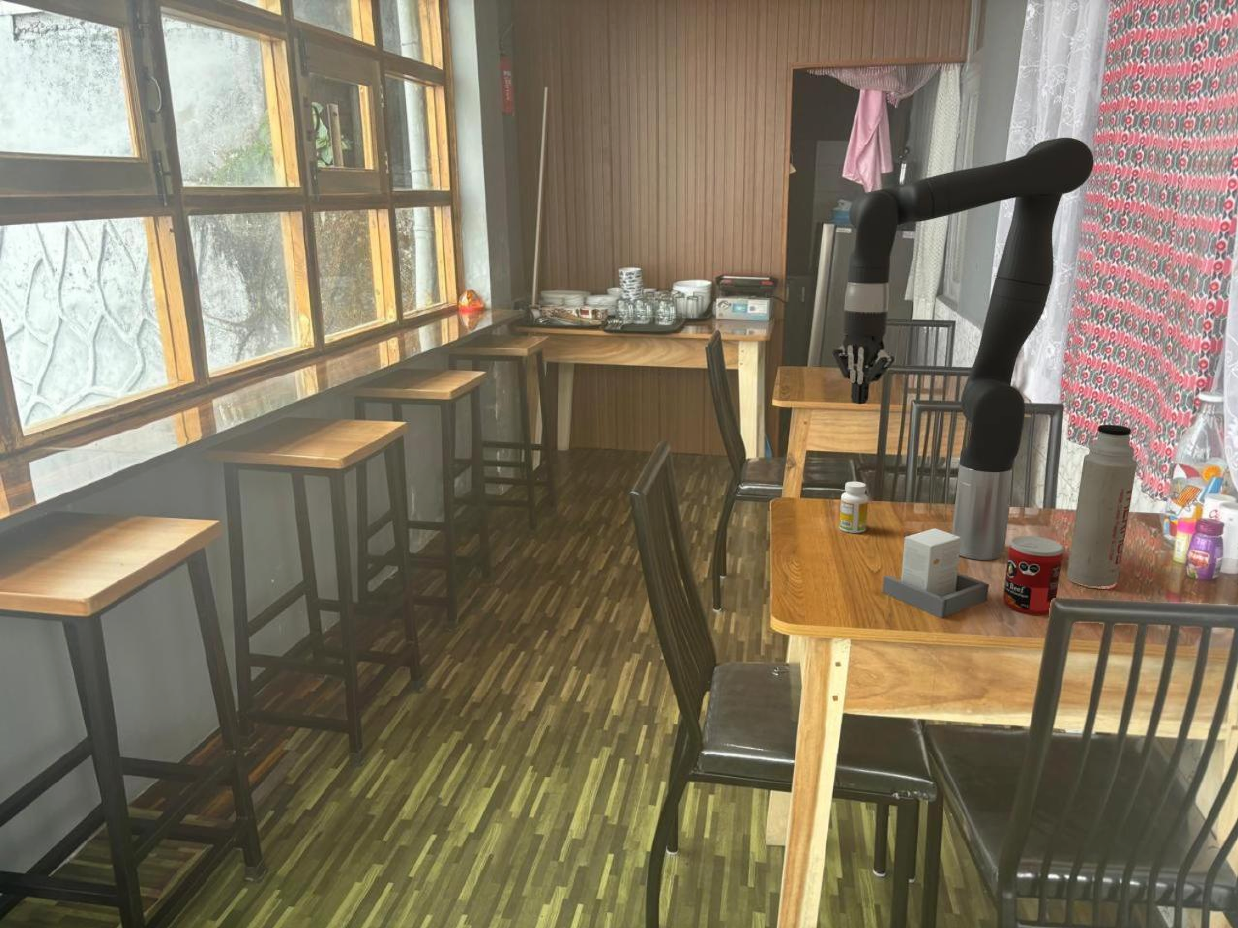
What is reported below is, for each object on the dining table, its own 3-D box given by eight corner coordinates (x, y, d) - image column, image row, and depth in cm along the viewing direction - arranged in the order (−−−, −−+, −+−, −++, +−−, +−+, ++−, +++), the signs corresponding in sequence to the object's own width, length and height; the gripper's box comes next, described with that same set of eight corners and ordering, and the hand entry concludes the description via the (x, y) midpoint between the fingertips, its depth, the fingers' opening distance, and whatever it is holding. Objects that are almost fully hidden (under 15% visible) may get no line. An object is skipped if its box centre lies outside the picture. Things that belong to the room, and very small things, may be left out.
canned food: (993, 597, 153) (1001, 536, 150) (1039, 595, 153) (1047, 534, 150) (1016, 616, 146) (1025, 553, 142) (1064, 614, 146) (1073, 551, 143)
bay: (927, 577, 161) (929, 561, 160) (986, 600, 151) (988, 584, 151) (882, 592, 155) (883, 576, 154) (941, 617, 145) (942, 600, 144)
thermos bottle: (1126, 584, 158) (1152, 429, 150) (1097, 593, 154) (1122, 434, 147) (1085, 568, 165) (1108, 419, 157) (1056, 576, 161) (1078, 424, 154)
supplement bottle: (863, 525, 188) (867, 480, 185) (867, 534, 182) (871, 488, 180) (837, 524, 188) (840, 479, 185) (840, 533, 183) (844, 487, 180)
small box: (929, 583, 158) (934, 527, 155) (956, 594, 154) (962, 536, 151) (898, 593, 154) (903, 536, 151) (925, 605, 150) (931, 546, 147)
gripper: (910, 310, 158) (901, 407, 162) (852, 304, 168) (846, 395, 173) (881, 313, 154) (873, 412, 158) (823, 306, 164) (818, 399, 169)
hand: (858, 403), depth 166 cm, fingers closed
